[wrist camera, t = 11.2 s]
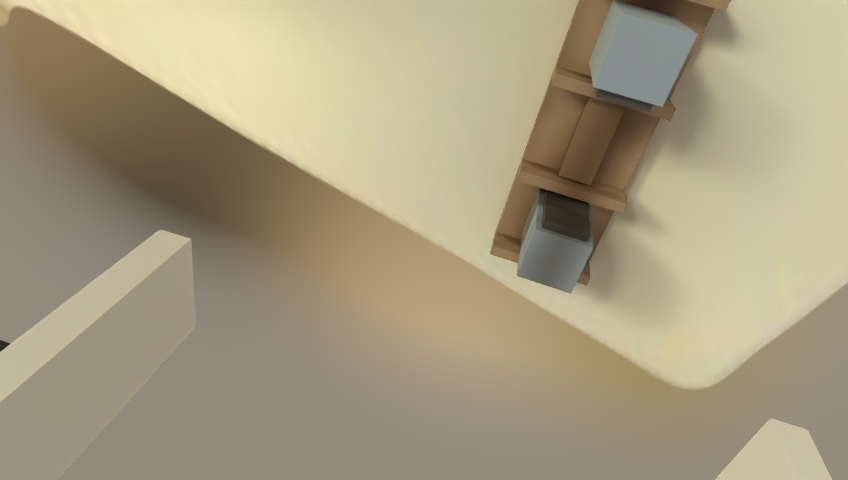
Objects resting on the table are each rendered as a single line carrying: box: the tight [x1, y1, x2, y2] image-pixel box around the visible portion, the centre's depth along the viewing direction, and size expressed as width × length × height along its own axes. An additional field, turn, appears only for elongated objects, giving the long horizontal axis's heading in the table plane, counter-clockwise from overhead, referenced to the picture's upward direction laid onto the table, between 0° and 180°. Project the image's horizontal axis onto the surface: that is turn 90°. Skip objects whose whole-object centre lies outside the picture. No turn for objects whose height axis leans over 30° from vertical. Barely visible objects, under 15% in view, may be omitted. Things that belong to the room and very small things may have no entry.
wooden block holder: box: [490, 0, 731, 293], centre depth 35 cm, size 8×22×8 cm, turn 167°
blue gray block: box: [589, 0, 698, 112], centre depth 32 cm, size 4×5×7 cm
